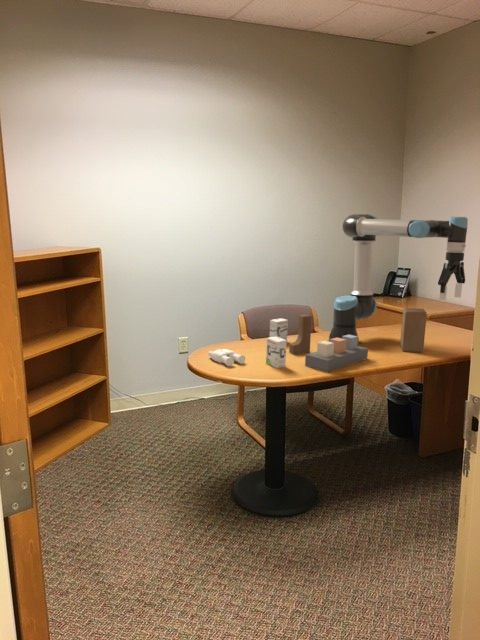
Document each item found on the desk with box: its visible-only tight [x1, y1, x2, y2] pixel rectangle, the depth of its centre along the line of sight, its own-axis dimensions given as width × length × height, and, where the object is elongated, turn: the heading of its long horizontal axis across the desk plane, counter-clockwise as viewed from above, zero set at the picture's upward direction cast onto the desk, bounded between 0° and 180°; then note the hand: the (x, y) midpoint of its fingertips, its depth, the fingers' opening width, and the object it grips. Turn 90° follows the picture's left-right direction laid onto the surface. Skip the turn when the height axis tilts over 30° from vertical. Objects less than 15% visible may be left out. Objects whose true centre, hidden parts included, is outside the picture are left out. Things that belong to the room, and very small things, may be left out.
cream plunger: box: [316, 340, 334, 358], centre depth 220 cm, size 5×5×7 cm
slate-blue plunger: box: [342, 335, 359, 350], centre depth 232 cm, size 5×5×7 cm
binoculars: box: [207, 348, 246, 367], centre depth 227 cm, size 10×16×5 cm, turn 37°
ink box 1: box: [269, 317, 289, 342], centre depth 260 cm, size 9×5×12 cm, turn 131°
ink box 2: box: [265, 336, 288, 369], centre depth 221 cm, size 9×5×12 cm, turn 32°
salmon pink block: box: [330, 338, 346, 354], centre depth 226 cm, size 5×5×7 cm
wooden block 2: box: [399, 307, 428, 353], centre depth 249 cm, size 10×10×20 cm
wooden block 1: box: [288, 314, 312, 356], centre depth 240 cm, size 9×4×18 cm, turn 112°
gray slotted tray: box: [304, 345, 369, 373], centre depth 227 cm, size 12×30×5 cm, turn 133°
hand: (450, 298), depth 233 cm, fingers open, 13 cm apart
